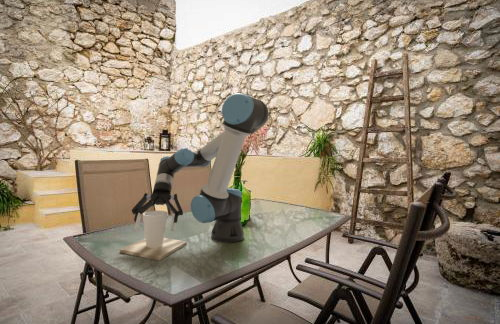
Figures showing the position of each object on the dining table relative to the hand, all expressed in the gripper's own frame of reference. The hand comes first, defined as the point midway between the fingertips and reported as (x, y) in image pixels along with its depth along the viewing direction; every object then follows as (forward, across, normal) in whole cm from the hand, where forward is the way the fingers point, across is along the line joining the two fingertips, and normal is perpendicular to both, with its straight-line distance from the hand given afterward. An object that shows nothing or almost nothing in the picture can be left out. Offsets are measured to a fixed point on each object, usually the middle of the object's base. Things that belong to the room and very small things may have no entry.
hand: (154, 229), depth 105 cm
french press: (-29, -40, -41) cm, 65 cm away
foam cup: (+4, 0, -7) cm, 8 cm away
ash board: (+4, 0, -8) cm, 9 cm away
